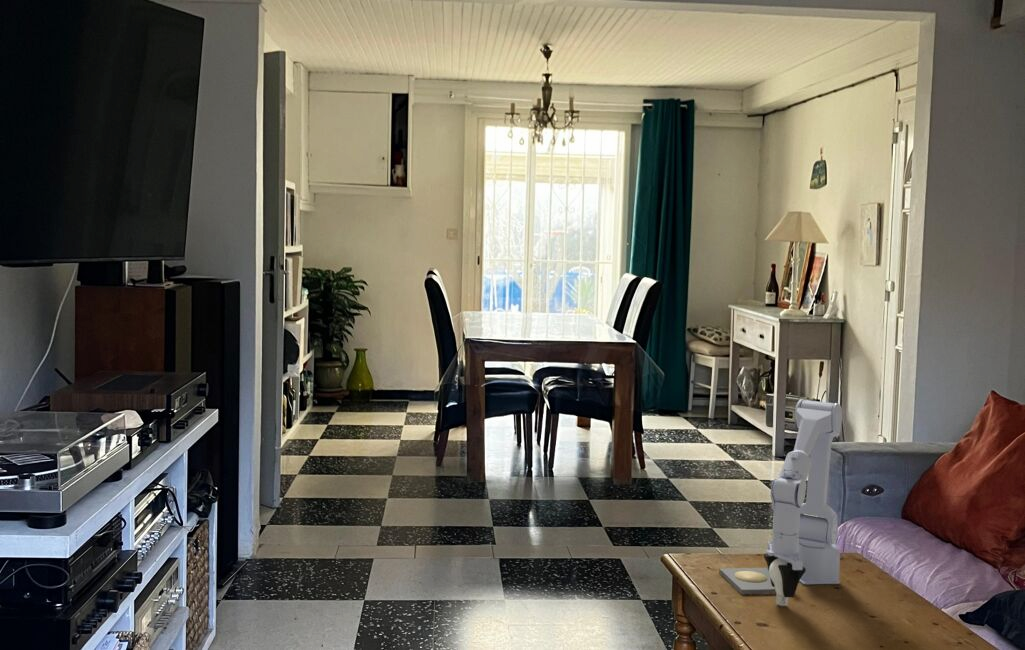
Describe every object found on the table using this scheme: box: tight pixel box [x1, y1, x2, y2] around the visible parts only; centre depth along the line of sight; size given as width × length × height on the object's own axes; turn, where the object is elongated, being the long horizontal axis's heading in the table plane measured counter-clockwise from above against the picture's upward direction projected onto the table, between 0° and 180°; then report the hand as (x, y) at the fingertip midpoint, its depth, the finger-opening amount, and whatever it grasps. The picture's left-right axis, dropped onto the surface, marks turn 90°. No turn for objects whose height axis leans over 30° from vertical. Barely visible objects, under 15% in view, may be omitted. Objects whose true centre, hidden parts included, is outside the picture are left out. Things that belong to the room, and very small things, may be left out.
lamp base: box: [718, 567, 776, 596], centre depth 234 cm, size 13×15×6 cm
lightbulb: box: [769, 558, 789, 608], centre depth 219 cm, size 6×6×11 cm
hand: (782, 591), depth 219 cm, fingers closed on lightbulb, 6 cm apart
